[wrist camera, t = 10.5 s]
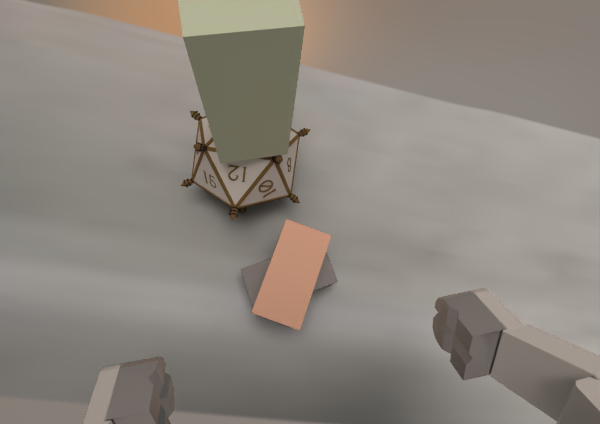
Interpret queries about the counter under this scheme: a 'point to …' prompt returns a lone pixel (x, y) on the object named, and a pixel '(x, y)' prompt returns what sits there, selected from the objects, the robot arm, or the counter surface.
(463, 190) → the counter surface
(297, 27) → the green block
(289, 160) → the game die
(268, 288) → the terracotta brick
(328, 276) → the charcoal brick
